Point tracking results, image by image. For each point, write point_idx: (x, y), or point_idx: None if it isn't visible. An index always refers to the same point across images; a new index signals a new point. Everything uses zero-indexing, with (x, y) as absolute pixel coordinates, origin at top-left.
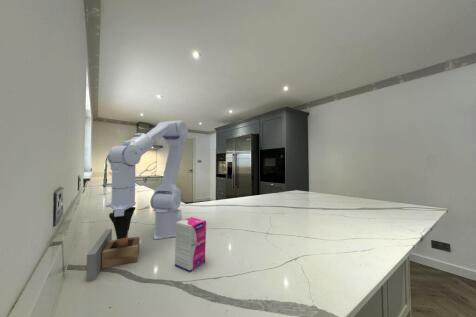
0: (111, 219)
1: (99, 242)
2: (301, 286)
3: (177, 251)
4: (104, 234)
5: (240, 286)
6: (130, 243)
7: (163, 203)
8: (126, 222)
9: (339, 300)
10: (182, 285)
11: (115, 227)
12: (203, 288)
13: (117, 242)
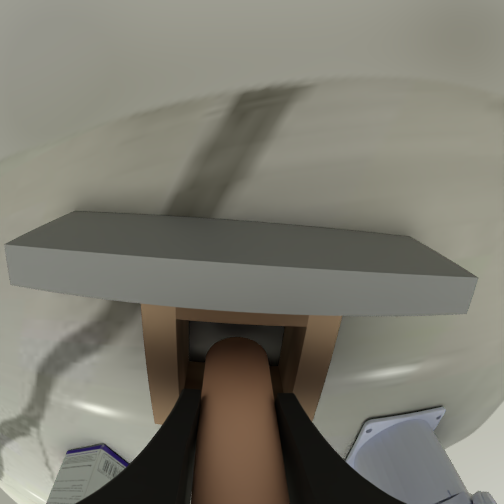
0: (85, 499)
1: (186, 283)
2: (30, 497)
3: (82, 480)
4: (375, 290)
5: (25, 469)
6: (287, 384)
7: None
8: None
9: (11, 493)
10: (24, 423)
11: (147, 450)
12: (18, 439)
13: (213, 365)
